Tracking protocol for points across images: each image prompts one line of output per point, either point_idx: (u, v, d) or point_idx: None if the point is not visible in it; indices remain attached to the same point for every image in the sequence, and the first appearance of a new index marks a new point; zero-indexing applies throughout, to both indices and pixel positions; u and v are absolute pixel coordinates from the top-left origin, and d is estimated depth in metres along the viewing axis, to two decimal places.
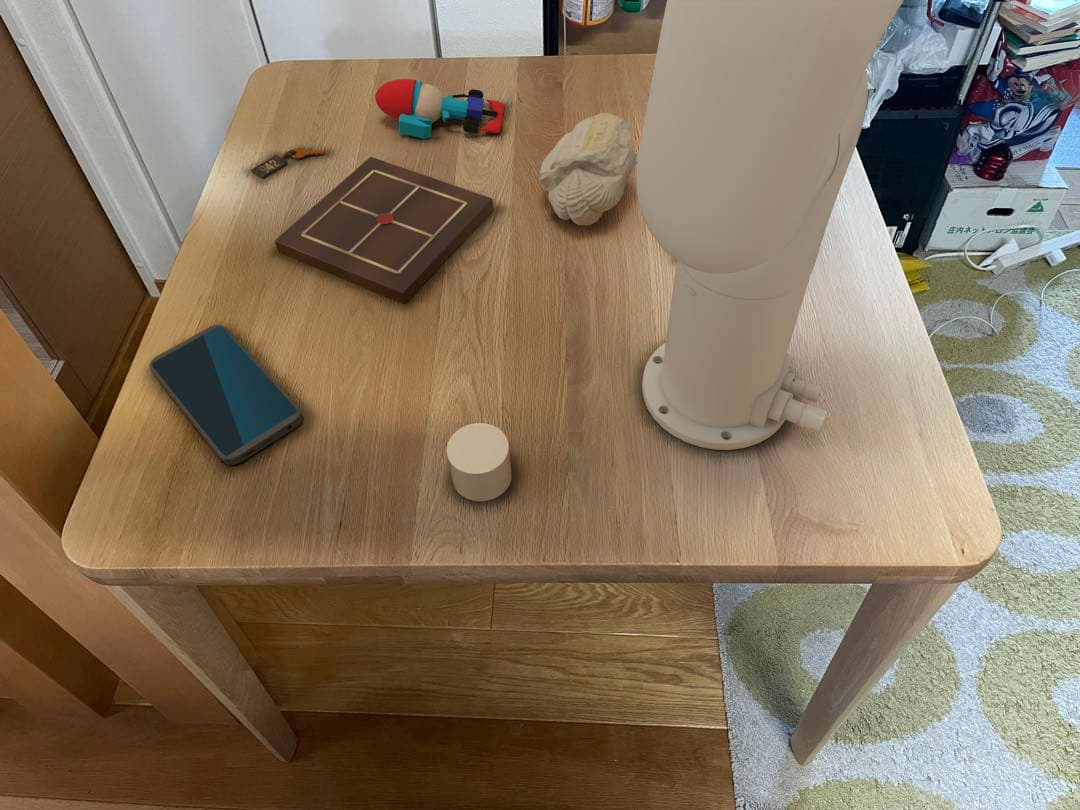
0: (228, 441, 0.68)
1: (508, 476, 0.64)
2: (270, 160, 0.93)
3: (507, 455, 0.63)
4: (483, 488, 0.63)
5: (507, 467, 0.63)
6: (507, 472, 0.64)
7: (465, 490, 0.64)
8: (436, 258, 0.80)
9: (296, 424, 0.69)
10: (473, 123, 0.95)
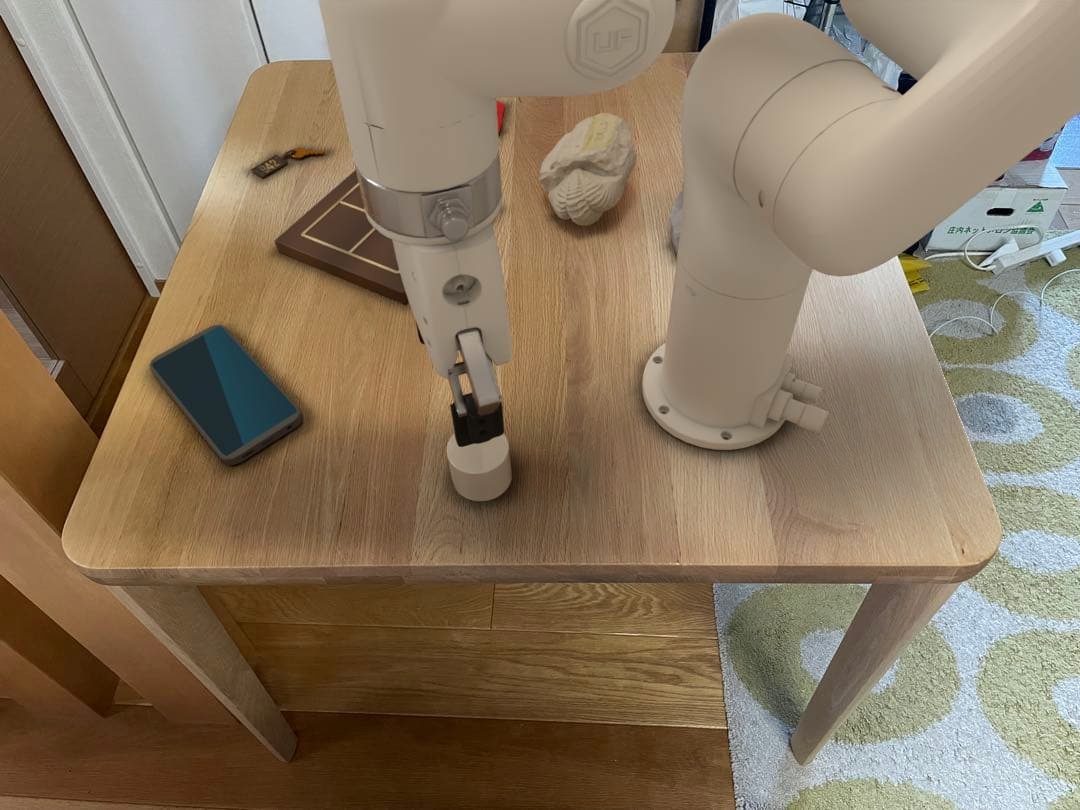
0: (228, 441, 0.68)
1: (508, 476, 0.64)
2: (270, 160, 0.93)
3: (507, 455, 0.63)
4: (483, 488, 0.63)
5: (507, 467, 0.63)
6: (507, 472, 0.64)
7: (465, 490, 0.64)
8: None
9: (296, 424, 0.69)
10: None
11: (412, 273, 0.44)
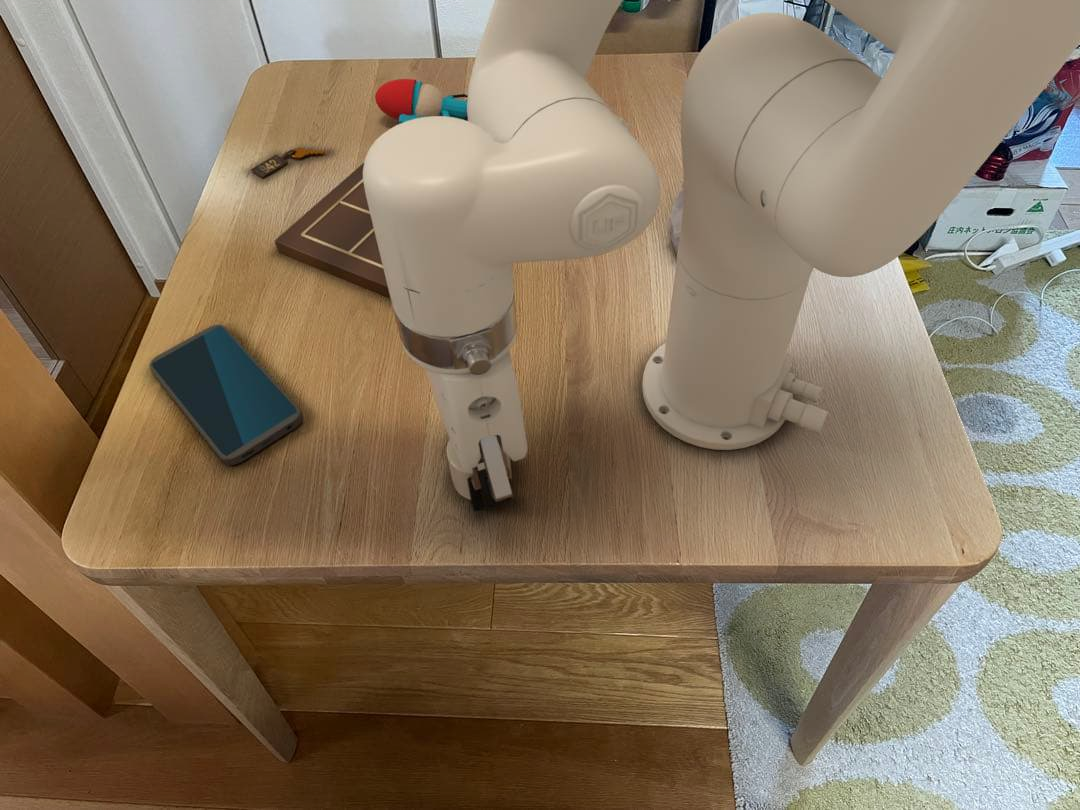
0: (228, 441, 0.68)
1: None
2: (270, 160, 0.93)
3: None
4: None
5: None
6: None
7: (465, 490, 0.64)
8: None
9: (296, 424, 0.69)
10: None
11: (442, 394, 0.52)
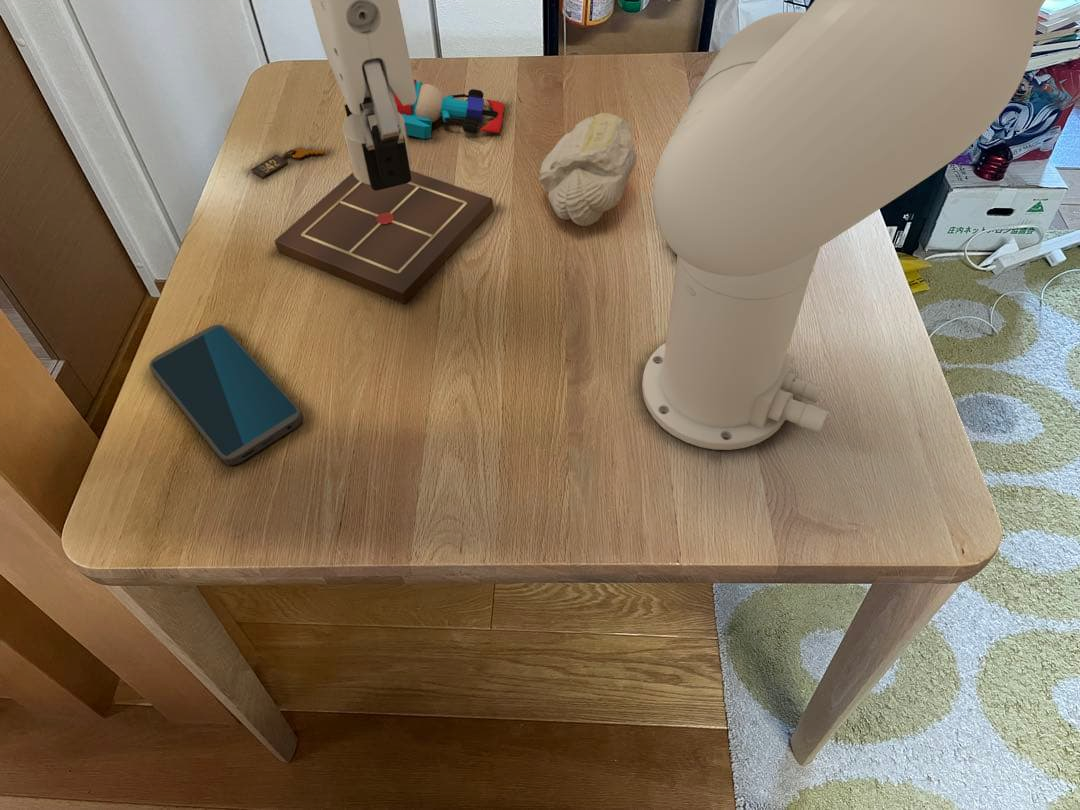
0: (228, 441, 0.68)
1: None
2: (270, 160, 0.93)
3: (402, 130, 0.63)
4: None
5: None
6: None
7: (363, 170, 0.64)
8: (436, 258, 0.80)
9: (296, 424, 0.69)
10: (473, 123, 0.95)
11: (321, 4, 0.52)
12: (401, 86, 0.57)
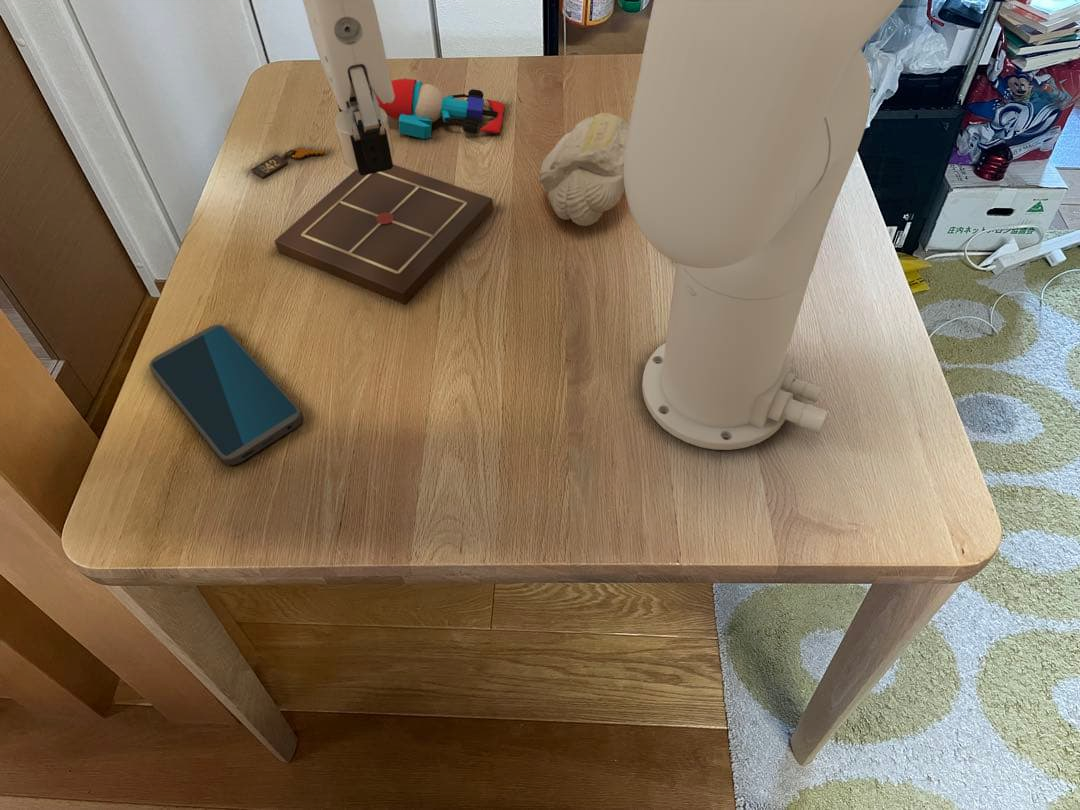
0: (228, 441, 0.68)
1: None
2: (270, 160, 0.93)
3: (385, 124, 0.75)
4: None
5: None
6: None
7: (351, 157, 0.76)
8: (436, 258, 0.80)
9: (296, 424, 0.69)
10: (473, 123, 0.95)
11: (314, 20, 0.64)
12: (381, 87, 0.68)
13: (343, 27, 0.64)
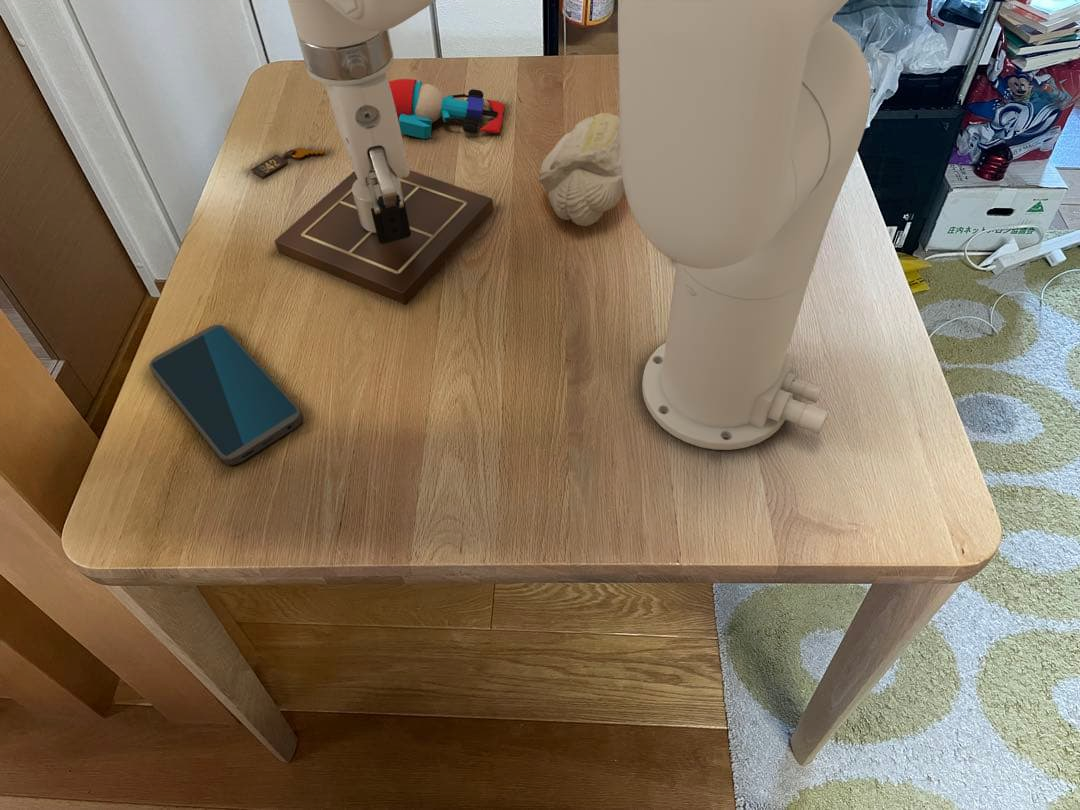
0: (228, 441, 0.68)
1: None
2: (270, 160, 0.93)
3: None
4: None
5: None
6: None
7: (367, 221, 0.82)
8: (436, 258, 0.80)
9: (296, 424, 0.69)
10: (473, 123, 0.95)
11: (336, 107, 0.70)
12: (397, 164, 0.74)
13: (363, 114, 0.70)
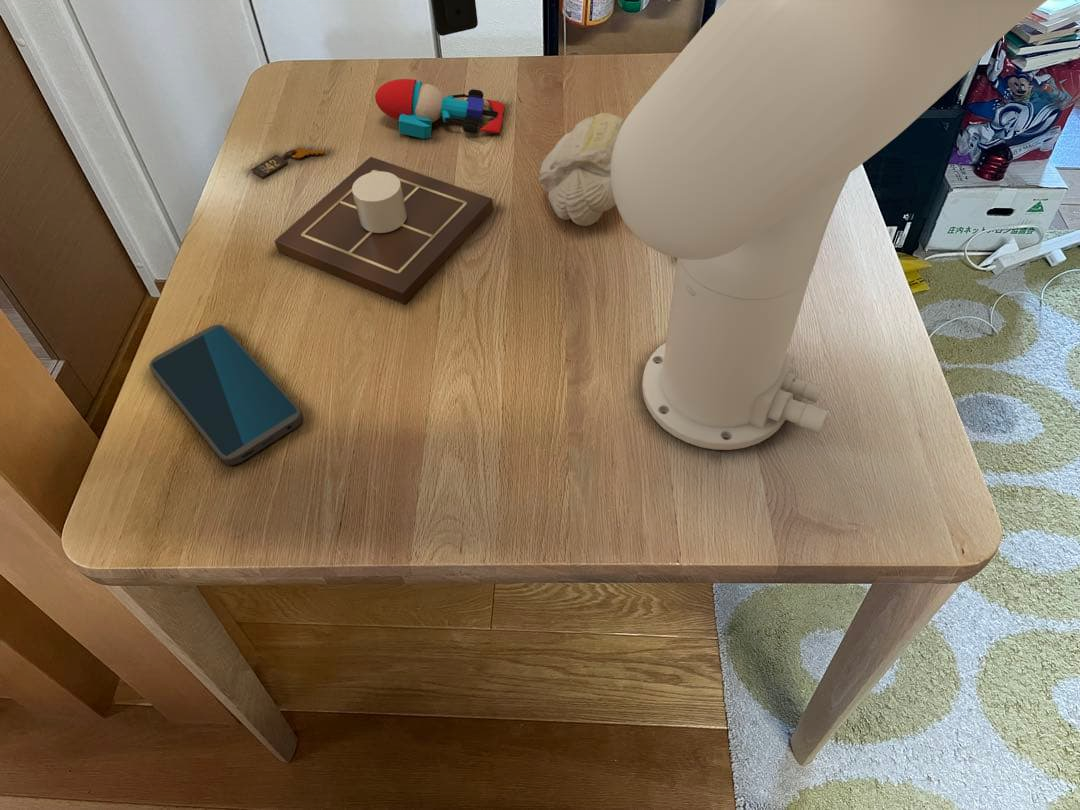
0: (228, 441, 0.68)
1: (402, 213, 0.82)
2: (270, 160, 0.93)
3: (398, 191, 0.81)
4: (381, 218, 0.81)
5: (400, 203, 0.81)
6: (400, 208, 0.82)
7: (367, 221, 0.82)
8: (436, 258, 0.80)
9: (296, 424, 0.69)
10: (473, 123, 0.95)
11: None
12: None
13: None
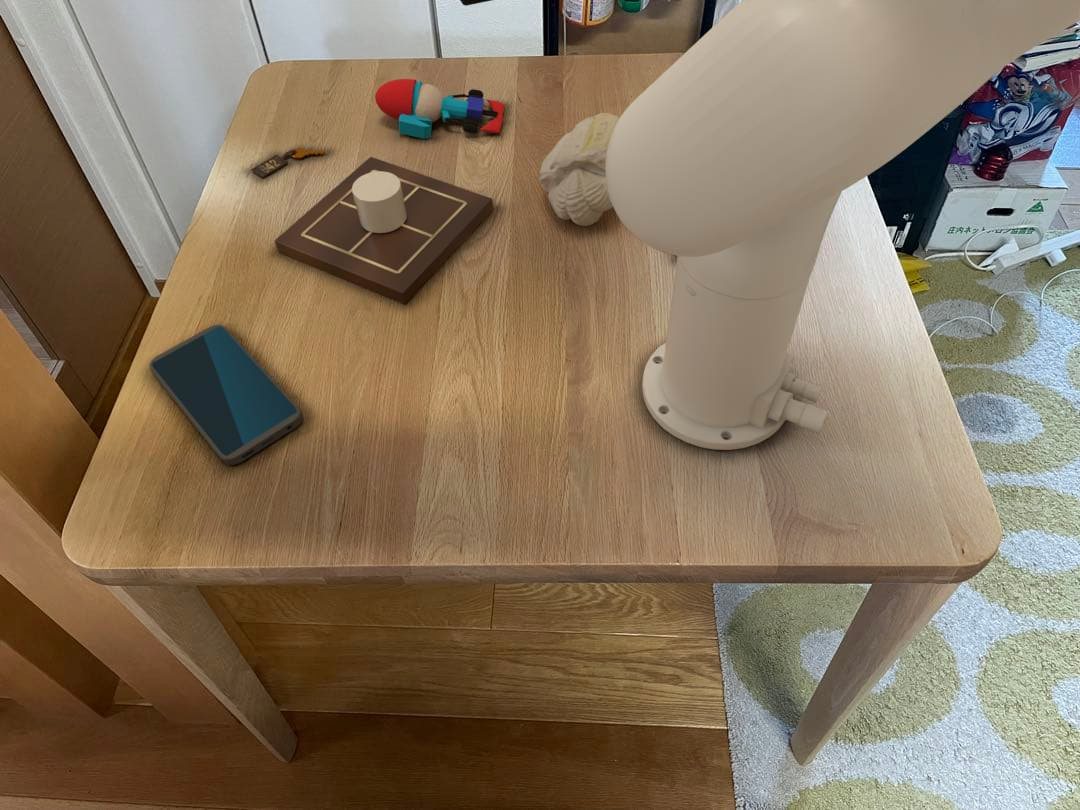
0: (228, 441, 0.68)
1: (402, 213, 0.82)
2: (270, 160, 0.93)
3: (398, 191, 0.81)
4: (381, 218, 0.81)
5: (400, 203, 0.81)
6: (400, 208, 0.82)
7: (367, 221, 0.82)
8: (436, 258, 0.80)
9: (296, 424, 0.69)
10: (473, 123, 0.95)
11: None
12: None
13: None
